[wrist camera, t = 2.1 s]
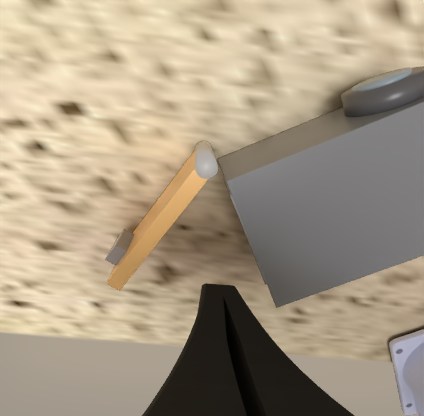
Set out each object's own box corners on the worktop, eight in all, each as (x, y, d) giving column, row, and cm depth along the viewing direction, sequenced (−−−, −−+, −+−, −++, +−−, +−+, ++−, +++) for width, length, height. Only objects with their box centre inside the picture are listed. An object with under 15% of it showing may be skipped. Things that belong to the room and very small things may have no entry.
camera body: (425, 195, 17) (514, 232, 12) (255, 258, 18) (277, 315, 13) (412, 56, 14) (523, 34, 9) (208, 141, 15) (215, 160, 10)
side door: (138, 247, 17) (120, 293, 13) (117, 235, 16) (93, 278, 12) (214, 148, 15) (222, 165, 11) (194, 131, 14) (194, 143, 10)
